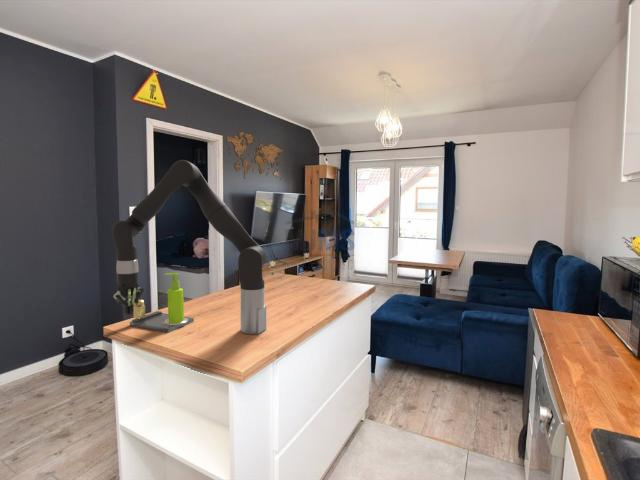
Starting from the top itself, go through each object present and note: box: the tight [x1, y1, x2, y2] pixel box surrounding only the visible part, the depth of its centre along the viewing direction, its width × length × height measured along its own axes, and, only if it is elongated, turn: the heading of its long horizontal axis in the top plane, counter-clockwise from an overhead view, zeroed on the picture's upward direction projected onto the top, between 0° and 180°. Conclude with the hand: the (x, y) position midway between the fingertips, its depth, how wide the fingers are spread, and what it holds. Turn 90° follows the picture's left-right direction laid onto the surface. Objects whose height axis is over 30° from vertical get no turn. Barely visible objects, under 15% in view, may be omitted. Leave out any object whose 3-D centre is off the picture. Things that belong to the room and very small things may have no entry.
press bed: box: [129, 310, 195, 333], centre depth 142 cm, size 21×14×2 cm
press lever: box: [132, 299, 146, 319], centre depth 140 cm, size 4×4×7 cm
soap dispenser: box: [163, 272, 185, 323], centre depth 139 cm, size 6×7×20 cm
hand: (129, 314), depth 136 cm, fingers closed
